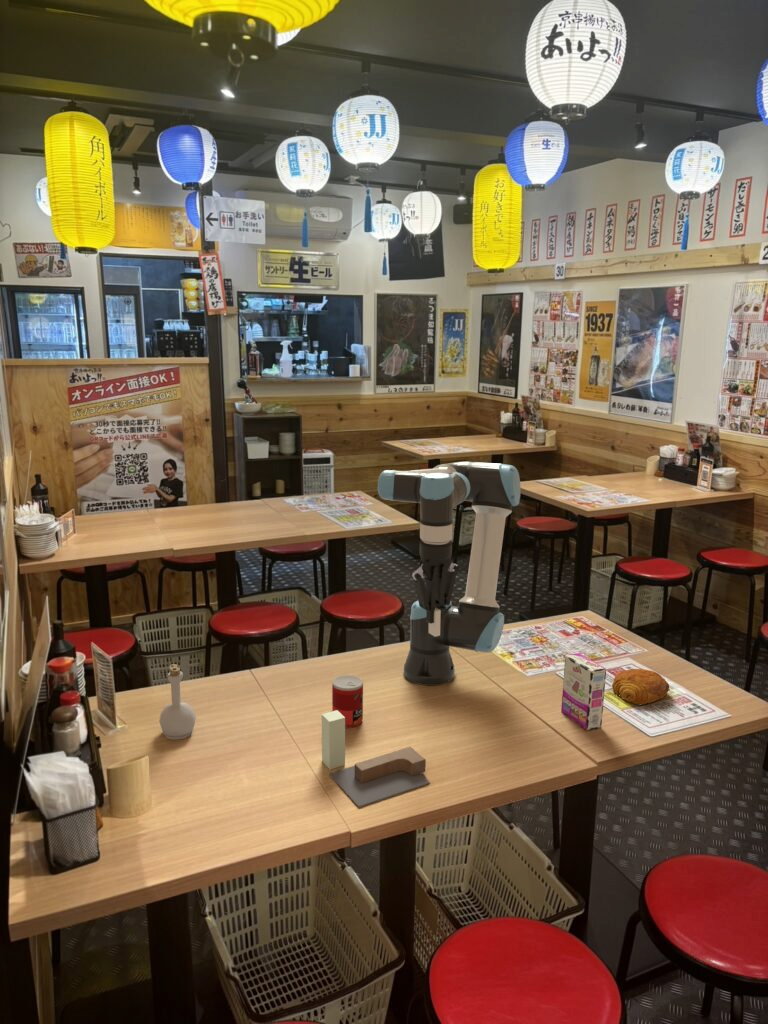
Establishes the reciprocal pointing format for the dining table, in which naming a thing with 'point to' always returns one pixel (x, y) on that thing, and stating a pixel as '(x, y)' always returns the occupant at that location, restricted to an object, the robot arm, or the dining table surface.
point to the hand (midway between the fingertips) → (434, 634)
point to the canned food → (348, 699)
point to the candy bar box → (583, 691)
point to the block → (333, 739)
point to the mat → (376, 785)
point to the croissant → (640, 686)
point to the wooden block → (390, 765)
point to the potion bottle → (177, 710)
